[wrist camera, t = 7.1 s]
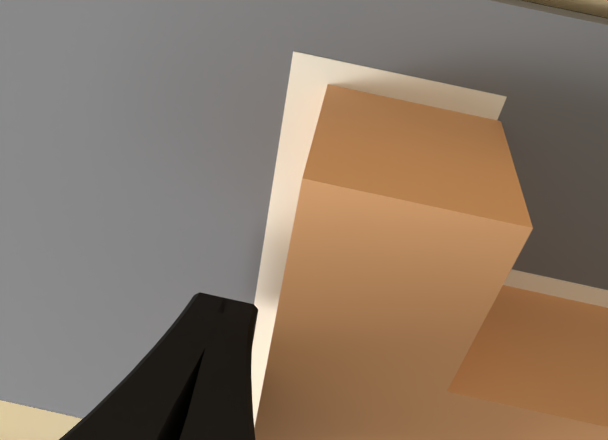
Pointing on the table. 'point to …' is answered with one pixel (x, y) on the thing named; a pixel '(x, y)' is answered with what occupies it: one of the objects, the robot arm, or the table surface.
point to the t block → (421, 292)
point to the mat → (251, 157)
